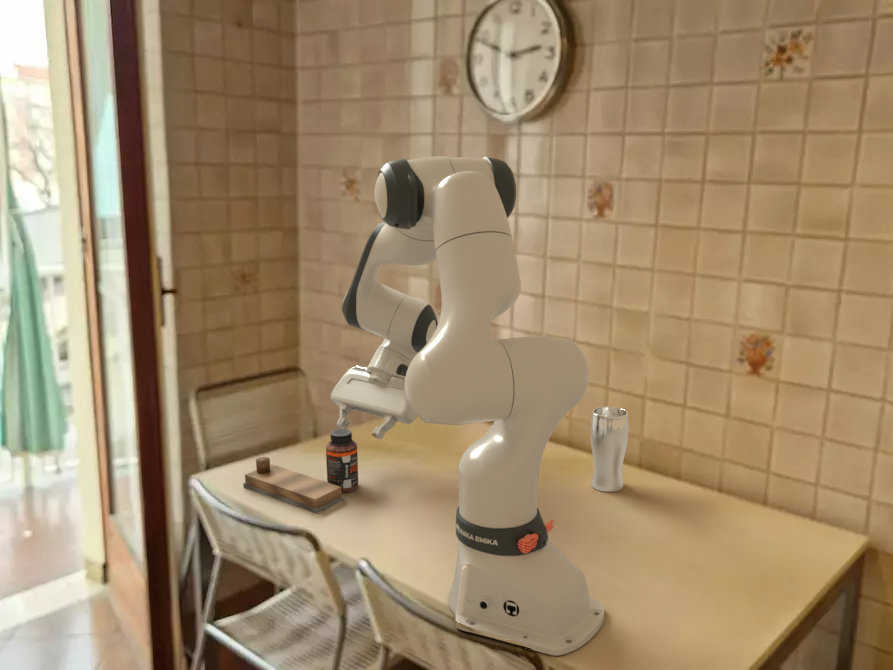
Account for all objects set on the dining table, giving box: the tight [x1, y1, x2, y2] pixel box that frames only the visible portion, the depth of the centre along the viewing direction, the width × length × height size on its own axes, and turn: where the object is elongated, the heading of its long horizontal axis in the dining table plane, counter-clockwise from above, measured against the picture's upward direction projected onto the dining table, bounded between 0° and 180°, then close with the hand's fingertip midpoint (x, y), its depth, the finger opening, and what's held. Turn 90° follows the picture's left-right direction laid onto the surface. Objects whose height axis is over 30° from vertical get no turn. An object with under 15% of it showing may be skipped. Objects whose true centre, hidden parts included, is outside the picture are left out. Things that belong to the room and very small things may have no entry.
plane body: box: [242, 456, 345, 514], centre depth 157 cm, size 20×7×5 cm, turn 53°
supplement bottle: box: [325, 428, 359, 494], centre depth 159 cm, size 6×6×11 cm
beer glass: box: [590, 405, 629, 493], centre depth 158 cm, size 7×7×15 cm
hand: (358, 432), depth 161 cm, fingers open, 8 cm apart
